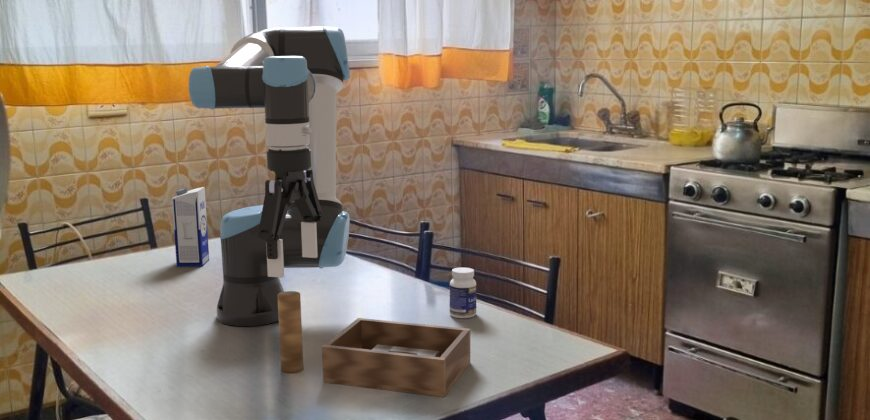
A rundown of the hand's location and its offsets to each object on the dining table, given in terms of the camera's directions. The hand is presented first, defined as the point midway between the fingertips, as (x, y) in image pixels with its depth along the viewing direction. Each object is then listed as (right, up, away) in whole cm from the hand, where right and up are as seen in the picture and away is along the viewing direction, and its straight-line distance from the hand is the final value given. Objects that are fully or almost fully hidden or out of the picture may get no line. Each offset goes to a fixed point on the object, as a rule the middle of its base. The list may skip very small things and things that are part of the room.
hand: (293, 266), depth 157 cm
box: (+19, -19, +1) cm, 26 cm away
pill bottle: (+31, -13, +32) cm, 46 cm away
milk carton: (-39, -4, +76) cm, 86 cm away
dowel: (-1, -19, +3) cm, 19 cm away
